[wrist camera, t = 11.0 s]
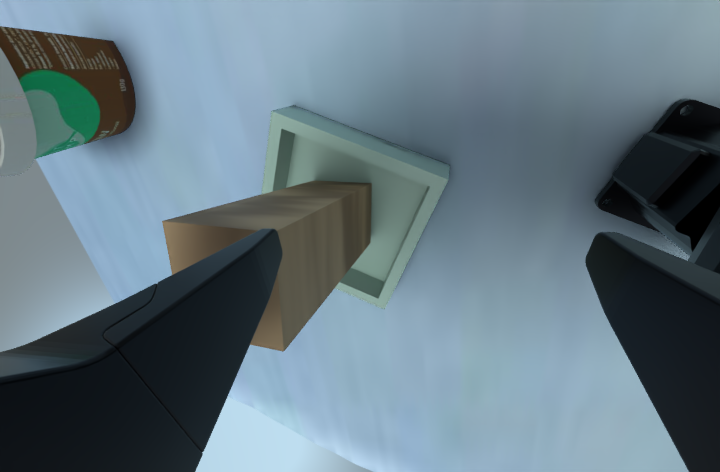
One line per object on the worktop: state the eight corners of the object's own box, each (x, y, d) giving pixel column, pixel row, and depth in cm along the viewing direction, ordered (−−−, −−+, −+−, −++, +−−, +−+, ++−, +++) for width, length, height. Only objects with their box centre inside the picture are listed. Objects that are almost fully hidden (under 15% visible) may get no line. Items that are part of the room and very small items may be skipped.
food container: (100, 168, 29) (-43, 210, 21) (51, 105, 27) (-130, 124, 19) (176, 112, 24) (27, 139, 16) (123, 29, 22) (-83, 9, 14)
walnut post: (371, 183, 22) (274, 231, 10) (370, 242, 23) (283, 351, 11) (313, 180, 23) (162, 221, 11) (315, 237, 24) (182, 330, 12)
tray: (449, 165, 20) (448, 179, 18) (391, 286, 27) (384, 309, 24) (293, 105, 21) (271, 111, 19) (272, 236, 28) (254, 253, 25)
